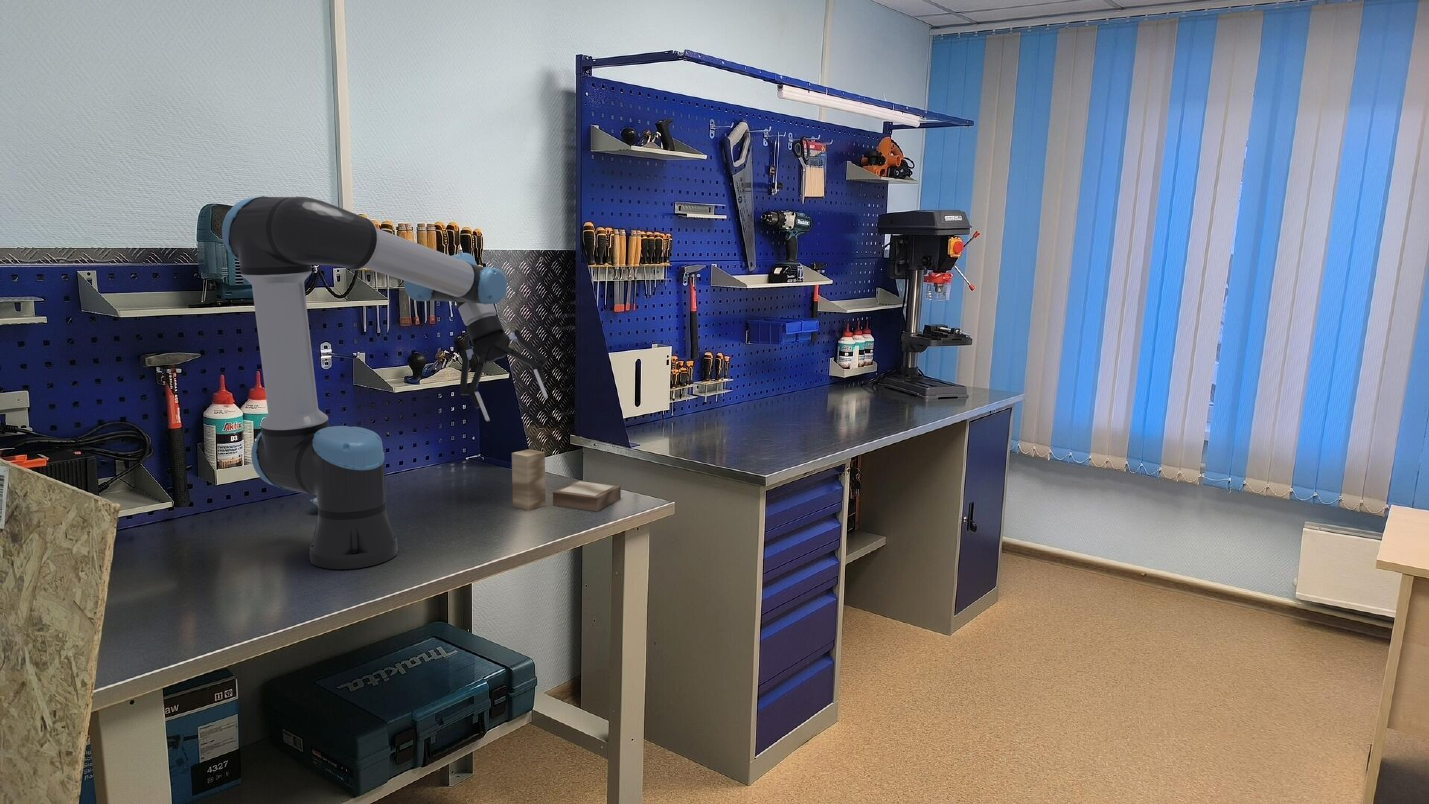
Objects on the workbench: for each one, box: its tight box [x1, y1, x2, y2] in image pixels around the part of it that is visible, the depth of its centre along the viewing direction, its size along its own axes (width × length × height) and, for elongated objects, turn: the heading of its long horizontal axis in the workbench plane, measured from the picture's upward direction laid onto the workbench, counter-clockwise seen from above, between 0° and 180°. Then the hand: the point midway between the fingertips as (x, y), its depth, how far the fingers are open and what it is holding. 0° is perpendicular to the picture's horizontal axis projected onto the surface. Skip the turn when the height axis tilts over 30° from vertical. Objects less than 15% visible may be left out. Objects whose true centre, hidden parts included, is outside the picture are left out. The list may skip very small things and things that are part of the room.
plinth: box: [552, 480, 622, 512], centre depth 210 cm, size 11×11×3 cm
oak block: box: [511, 448, 547, 511], centre depth 205 cm, size 5×5×12 cm
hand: (517, 408), depth 207 cm, fingers open, 13 cm apart
